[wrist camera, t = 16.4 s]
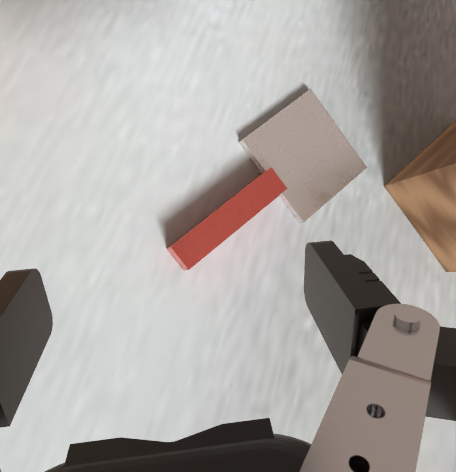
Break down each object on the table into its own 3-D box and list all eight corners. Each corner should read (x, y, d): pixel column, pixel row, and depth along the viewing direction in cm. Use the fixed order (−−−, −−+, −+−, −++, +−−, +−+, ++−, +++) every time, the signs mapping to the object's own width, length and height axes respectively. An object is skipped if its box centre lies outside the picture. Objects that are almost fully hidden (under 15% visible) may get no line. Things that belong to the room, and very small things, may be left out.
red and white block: (140, 215, 36) (142, 211, 34) (306, 92, 42) (317, 81, 39) (208, 301, 37) (215, 303, 35) (361, 169, 43) (375, 163, 40)
